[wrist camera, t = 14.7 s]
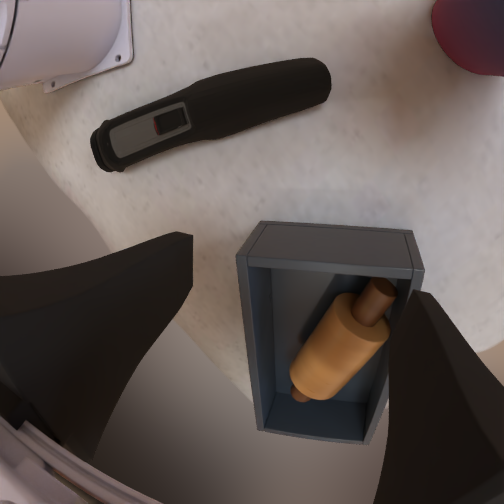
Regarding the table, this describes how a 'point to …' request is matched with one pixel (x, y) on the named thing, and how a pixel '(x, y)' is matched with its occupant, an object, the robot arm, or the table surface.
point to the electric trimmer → (211, 110)
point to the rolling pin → (342, 341)
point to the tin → (317, 319)
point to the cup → (471, 33)
